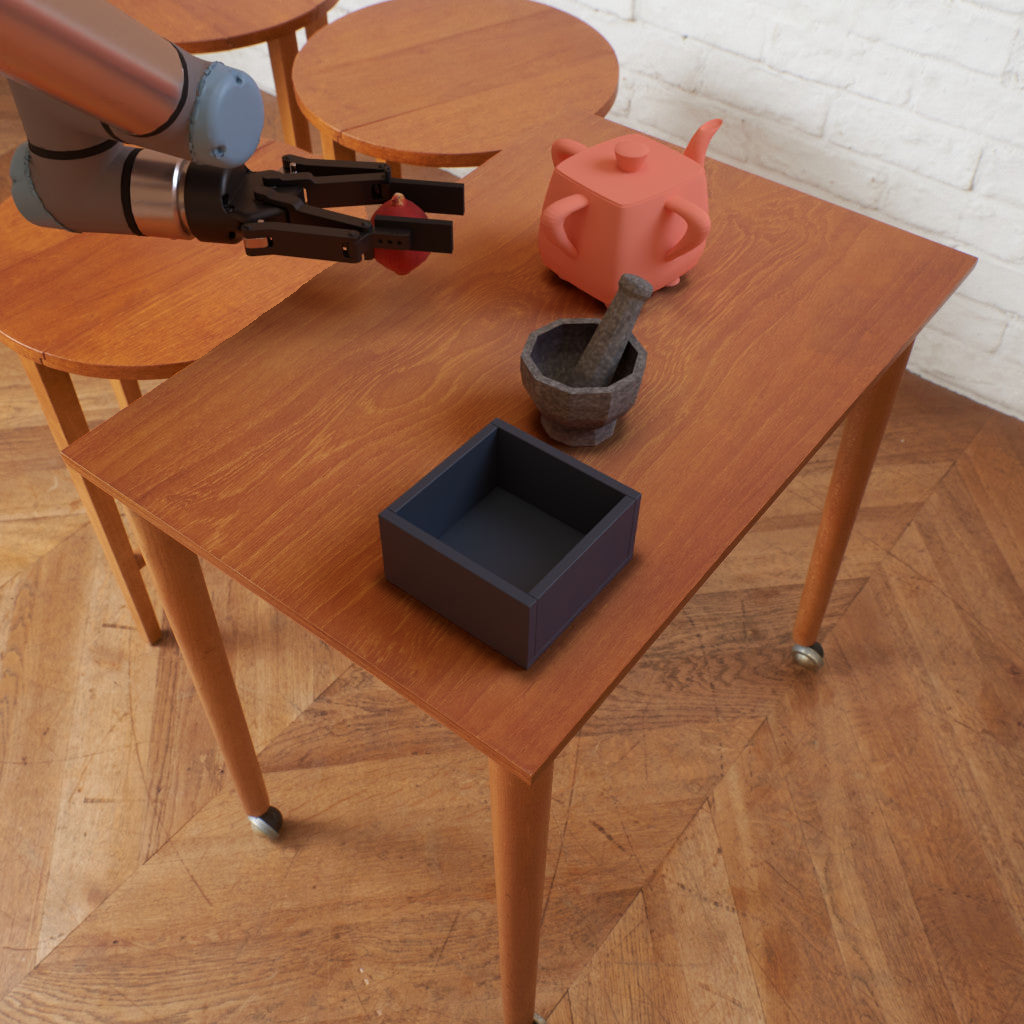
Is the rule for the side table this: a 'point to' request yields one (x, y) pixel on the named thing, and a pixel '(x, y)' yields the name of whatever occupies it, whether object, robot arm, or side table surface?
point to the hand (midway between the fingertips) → (457, 218)
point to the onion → (400, 259)
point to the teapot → (625, 211)
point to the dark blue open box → (509, 539)
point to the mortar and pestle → (587, 368)
